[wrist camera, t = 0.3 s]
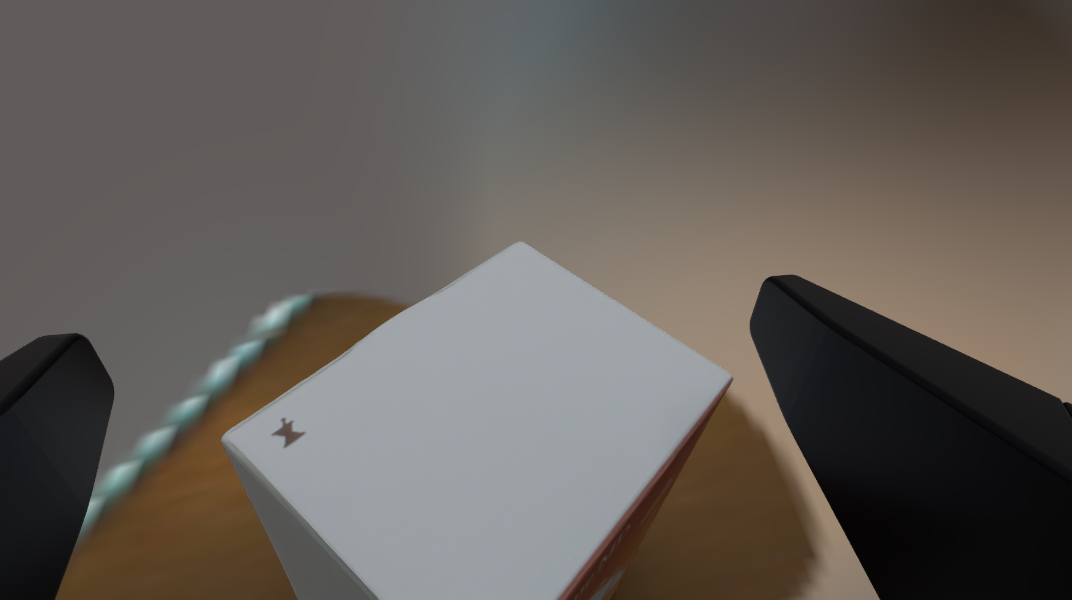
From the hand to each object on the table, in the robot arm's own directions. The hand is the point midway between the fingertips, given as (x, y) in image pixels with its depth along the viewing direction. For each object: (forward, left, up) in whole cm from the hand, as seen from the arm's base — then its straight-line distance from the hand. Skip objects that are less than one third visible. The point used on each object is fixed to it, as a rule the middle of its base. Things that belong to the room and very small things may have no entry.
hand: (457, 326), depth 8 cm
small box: (+1, -1, -16) cm, 17 cm away
